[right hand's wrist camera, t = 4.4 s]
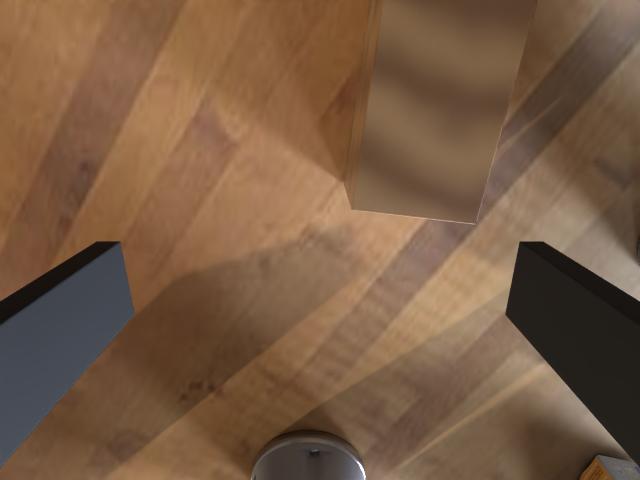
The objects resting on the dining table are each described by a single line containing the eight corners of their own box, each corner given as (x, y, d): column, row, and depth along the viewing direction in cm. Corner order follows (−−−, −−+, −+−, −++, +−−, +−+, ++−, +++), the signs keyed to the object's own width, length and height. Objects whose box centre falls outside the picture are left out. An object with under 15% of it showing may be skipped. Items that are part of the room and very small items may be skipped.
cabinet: (375, -37, 31) (398, -95, 22) (489, -21, 32) (557, -71, 23) (343, 185, 38) (351, 210, 29) (438, 196, 38) (476, 224, 29)
